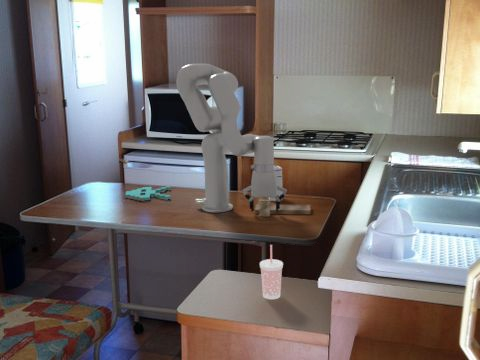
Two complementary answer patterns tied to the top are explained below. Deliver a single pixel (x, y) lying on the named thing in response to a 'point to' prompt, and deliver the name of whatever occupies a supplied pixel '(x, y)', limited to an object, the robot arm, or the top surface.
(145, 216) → the top surface
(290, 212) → the board
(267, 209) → the wooden mallet
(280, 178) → the syrup box
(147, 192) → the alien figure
